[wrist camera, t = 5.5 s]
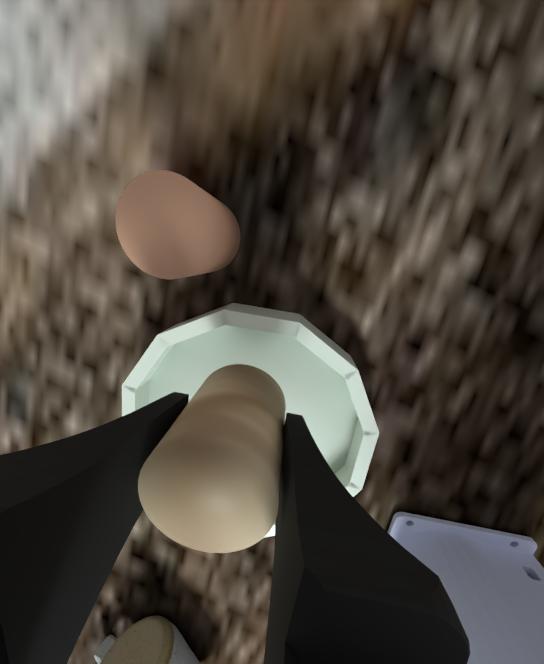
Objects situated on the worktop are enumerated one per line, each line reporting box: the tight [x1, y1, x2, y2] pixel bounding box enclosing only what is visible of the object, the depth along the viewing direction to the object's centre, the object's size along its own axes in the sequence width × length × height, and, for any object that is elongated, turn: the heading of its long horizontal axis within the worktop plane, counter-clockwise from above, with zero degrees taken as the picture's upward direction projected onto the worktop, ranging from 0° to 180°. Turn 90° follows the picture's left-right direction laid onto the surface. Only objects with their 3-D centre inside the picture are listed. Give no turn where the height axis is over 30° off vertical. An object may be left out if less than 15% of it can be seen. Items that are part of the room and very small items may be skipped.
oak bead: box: [138, 364, 286, 553], centre depth 10 cm, size 4×4×5 cm
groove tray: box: [122, 303, 379, 538], centre depth 17 cm, size 15×15×2 cm
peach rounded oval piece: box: [116, 170, 240, 279], centre depth 13 cm, size 4×4×5 cm
